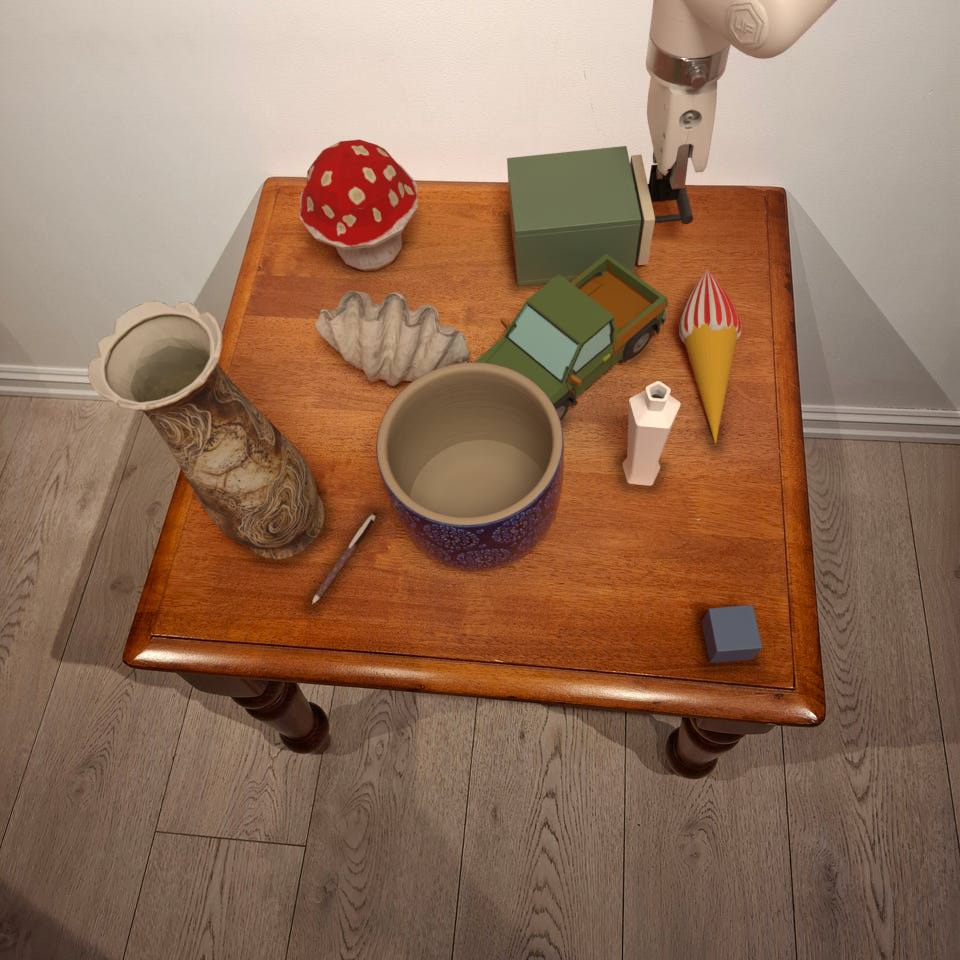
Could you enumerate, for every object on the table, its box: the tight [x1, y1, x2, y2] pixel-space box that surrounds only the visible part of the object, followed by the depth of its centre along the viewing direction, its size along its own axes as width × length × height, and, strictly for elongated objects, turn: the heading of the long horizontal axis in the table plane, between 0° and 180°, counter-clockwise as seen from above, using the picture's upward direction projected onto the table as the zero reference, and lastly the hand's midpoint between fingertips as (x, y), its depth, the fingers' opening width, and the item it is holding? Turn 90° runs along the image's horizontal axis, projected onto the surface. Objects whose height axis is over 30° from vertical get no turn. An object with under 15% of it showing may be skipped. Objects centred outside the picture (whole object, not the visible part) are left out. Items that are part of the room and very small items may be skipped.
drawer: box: [629, 154, 694, 266], centre depth 97 cm, size 17×10×7 cm, turn 94°
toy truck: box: [474, 254, 669, 422], centre depth 89 cm, size 11×21×10 cm, turn 133°
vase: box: [87, 300, 326, 560], centre depth 74 cm, size 10×11×30 cm
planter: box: [375, 361, 565, 572], centre depth 79 cm, size 17×17×15 cm
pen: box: [311, 511, 378, 605], centre depth 84 cm, size 11×1×1 cm, turn 149°
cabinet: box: [506, 145, 641, 287], centre depth 97 cm, size 14×11×9 cm
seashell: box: [314, 290, 471, 387], centre depth 90 cm, size 10×15×10 cm
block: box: [701, 604, 763, 664], centre depth 77 cm, size 4×4×4 cm
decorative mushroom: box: [298, 139, 419, 272], centre depth 96 cm, size 14×14×15 cm
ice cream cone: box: [678, 268, 743, 445], centre depth 90 cm, size 6×6×20 cm
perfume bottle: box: [621, 380, 681, 487], centre depth 80 cm, size 5×4×15 cm
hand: (662, 195), depth 95 cm, fingers closed
